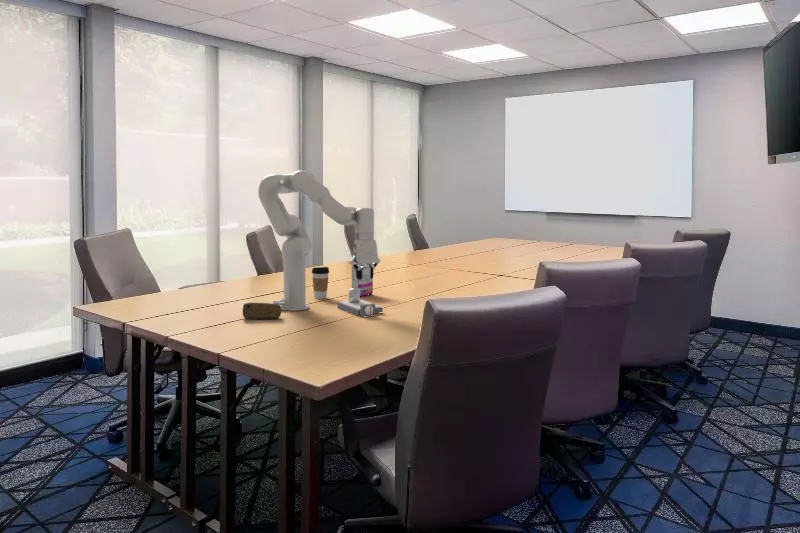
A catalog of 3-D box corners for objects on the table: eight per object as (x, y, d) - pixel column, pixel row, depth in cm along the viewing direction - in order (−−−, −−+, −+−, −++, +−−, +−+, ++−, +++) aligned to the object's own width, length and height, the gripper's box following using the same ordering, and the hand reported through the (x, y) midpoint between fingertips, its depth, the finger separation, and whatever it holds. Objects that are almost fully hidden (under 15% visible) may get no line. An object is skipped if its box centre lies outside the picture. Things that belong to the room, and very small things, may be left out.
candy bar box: (365, 293, 303) (365, 261, 301) (372, 294, 300) (373, 262, 298) (350, 296, 294) (351, 263, 292) (358, 297, 291) (358, 264, 289)
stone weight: (242, 321, 236) (242, 304, 235) (243, 317, 243) (243, 301, 242) (280, 320, 239) (280, 304, 238) (281, 316, 246) (280, 300, 245)
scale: (362, 317, 246) (362, 306, 245) (337, 308, 265) (337, 297, 264) (386, 314, 252) (386, 303, 252) (361, 305, 271) (361, 295, 271)
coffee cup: (327, 299, 285) (327, 268, 283) (310, 299, 285) (310, 268, 283) (330, 296, 293) (330, 266, 291) (313, 296, 293) (313, 266, 291)
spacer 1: (352, 303, 260) (352, 290, 260) (346, 301, 265) (346, 288, 264) (361, 302, 263) (362, 289, 262) (356, 300, 267) (356, 287, 266)
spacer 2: (362, 281, 251) (362, 267, 251) (356, 280, 256) (357, 266, 255) (372, 281, 254) (372, 267, 253) (366, 279, 258) (367, 265, 258)
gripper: (351, 238, 245) (351, 281, 247) (386, 236, 254) (386, 278, 256) (343, 236, 251) (343, 279, 253) (377, 235, 260) (377, 276, 263)
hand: (364, 278), depth 255 cm, fingers closed on spacer 2, 5 cm apart
